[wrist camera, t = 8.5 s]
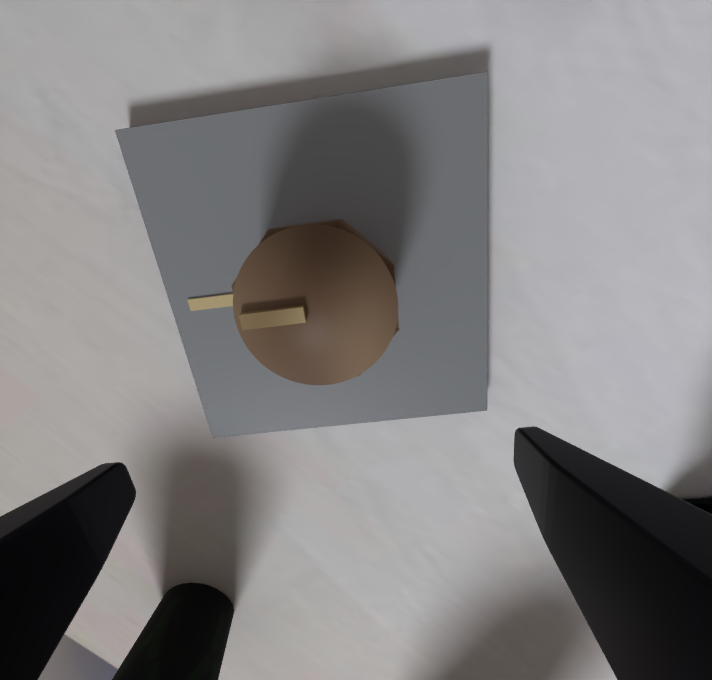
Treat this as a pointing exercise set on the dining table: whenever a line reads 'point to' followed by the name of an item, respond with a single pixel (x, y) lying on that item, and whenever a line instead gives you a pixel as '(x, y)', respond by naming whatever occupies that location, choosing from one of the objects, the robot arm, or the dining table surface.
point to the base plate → (323, 203)
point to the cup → (182, 637)
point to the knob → (316, 302)
